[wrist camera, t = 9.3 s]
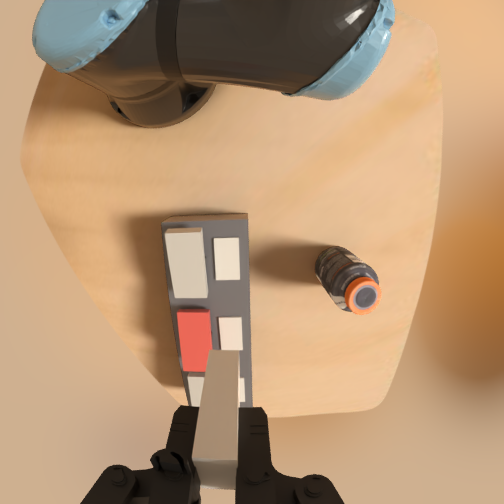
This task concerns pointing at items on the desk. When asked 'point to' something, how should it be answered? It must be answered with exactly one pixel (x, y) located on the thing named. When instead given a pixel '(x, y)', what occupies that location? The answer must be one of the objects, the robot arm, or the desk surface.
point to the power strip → (220, 289)
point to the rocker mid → (194, 338)
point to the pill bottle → (348, 280)
